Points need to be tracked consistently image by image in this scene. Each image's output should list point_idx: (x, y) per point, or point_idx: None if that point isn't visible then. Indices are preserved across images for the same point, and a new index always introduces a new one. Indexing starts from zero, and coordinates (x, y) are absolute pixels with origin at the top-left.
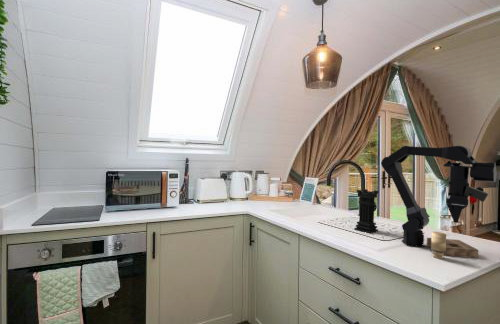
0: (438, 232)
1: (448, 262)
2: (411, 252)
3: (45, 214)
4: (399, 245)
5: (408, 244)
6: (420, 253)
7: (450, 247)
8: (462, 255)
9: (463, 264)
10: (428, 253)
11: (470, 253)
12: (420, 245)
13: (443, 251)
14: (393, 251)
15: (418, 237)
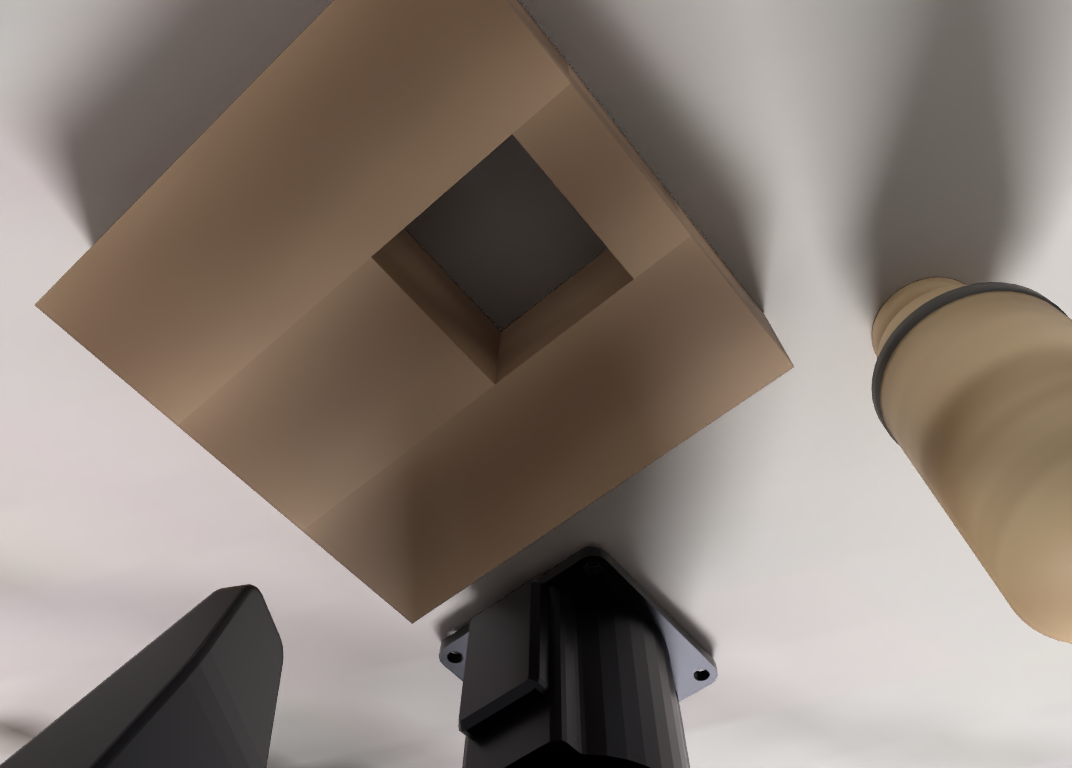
0: (1057, 568)
1: (1059, 183)
2: (942, 574)
3: None
4: (752, 717)
5: (690, 675)
6: (903, 503)
7: (703, 287)
8: (600, 109)
9: (1009, 10)
10: (825, 446)
11: (525, 15)
12: (609, 586)
13: (1050, 306)
14: (1052, 691)
15: (635, 688)
